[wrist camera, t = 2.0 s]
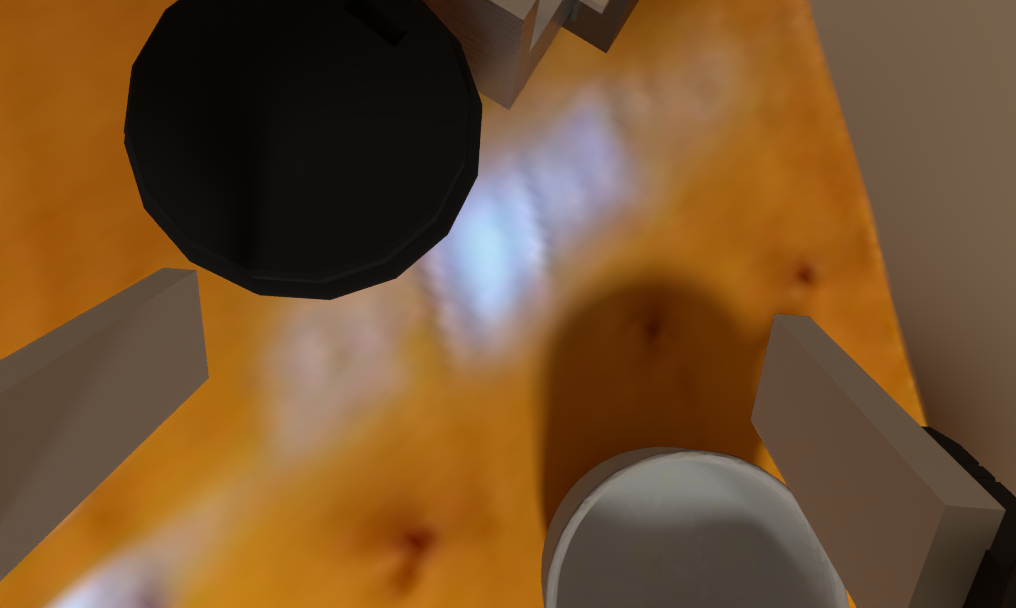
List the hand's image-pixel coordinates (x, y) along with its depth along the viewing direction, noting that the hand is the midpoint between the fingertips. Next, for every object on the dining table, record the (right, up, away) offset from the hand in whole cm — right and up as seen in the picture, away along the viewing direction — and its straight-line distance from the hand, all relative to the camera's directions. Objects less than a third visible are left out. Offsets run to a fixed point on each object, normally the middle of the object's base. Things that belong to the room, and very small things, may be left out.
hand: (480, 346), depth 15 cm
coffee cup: (-6, +6, +16) cm, 18 cm away
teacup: (+8, -10, +16) cm, 20 cm away
